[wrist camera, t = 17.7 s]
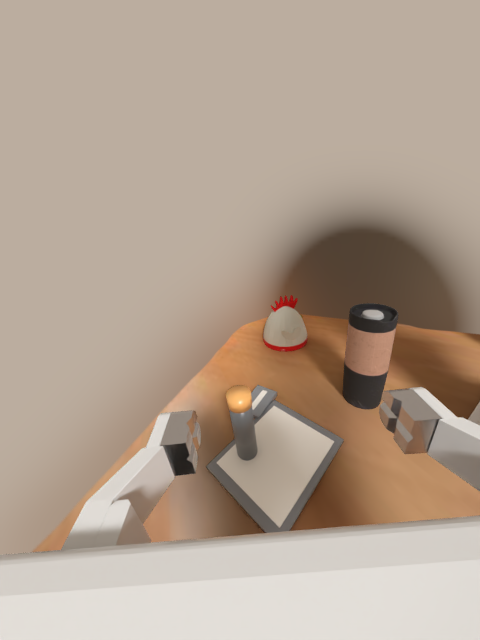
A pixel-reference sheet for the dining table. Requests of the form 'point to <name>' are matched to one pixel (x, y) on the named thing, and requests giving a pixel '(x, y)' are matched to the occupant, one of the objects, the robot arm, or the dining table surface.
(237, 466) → the paper pad
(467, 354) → the dining table surface
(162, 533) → the dining table surface
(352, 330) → the travel mug
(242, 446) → the marker
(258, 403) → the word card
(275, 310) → the kitchen timer
